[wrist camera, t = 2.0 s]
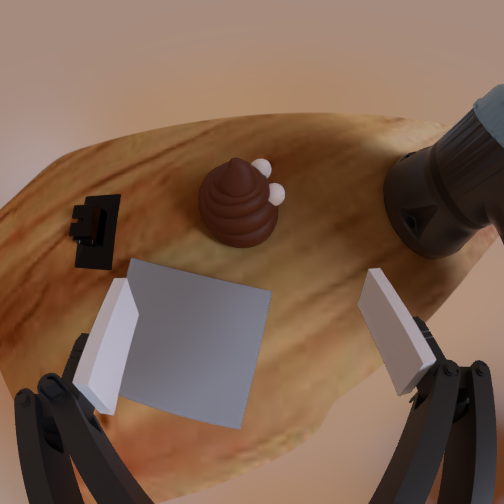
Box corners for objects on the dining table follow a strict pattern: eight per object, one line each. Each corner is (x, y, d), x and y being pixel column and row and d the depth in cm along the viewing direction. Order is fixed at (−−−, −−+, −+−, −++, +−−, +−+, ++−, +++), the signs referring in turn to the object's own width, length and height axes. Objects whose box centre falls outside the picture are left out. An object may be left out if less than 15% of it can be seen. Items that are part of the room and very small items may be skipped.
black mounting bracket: (85, 187, 32) (69, 172, 27) (132, 184, 32) (119, 167, 27) (71, 279, 29) (50, 274, 24) (119, 283, 29) (102, 278, 25)
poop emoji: (188, 186, 32) (173, 142, 23) (254, 160, 33) (260, 111, 24) (222, 262, 30) (216, 241, 21) (292, 231, 31) (313, 199, 22)
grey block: (267, 294, 29) (272, 291, 26) (239, 415, 26) (240, 429, 23) (144, 264, 29) (131, 257, 25) (120, 381, 26) (105, 389, 22)
